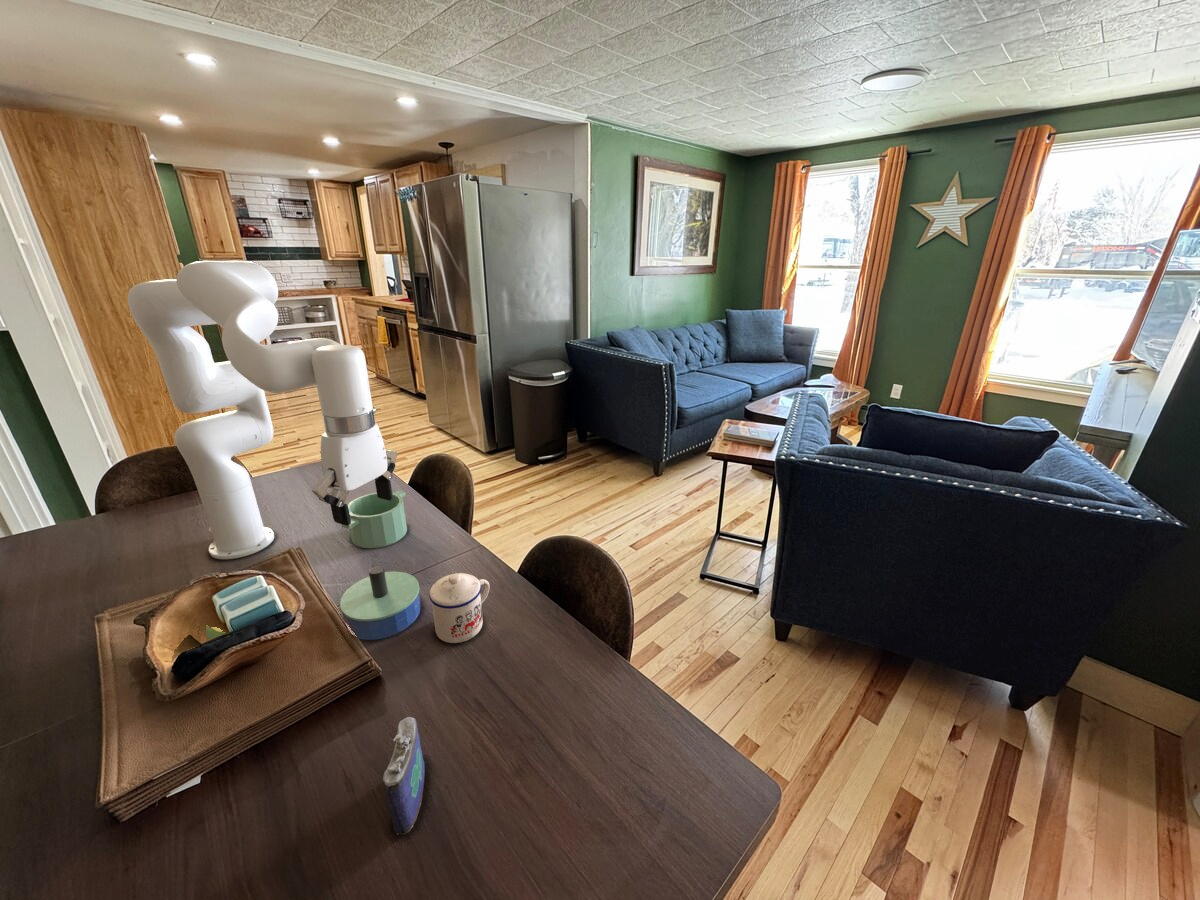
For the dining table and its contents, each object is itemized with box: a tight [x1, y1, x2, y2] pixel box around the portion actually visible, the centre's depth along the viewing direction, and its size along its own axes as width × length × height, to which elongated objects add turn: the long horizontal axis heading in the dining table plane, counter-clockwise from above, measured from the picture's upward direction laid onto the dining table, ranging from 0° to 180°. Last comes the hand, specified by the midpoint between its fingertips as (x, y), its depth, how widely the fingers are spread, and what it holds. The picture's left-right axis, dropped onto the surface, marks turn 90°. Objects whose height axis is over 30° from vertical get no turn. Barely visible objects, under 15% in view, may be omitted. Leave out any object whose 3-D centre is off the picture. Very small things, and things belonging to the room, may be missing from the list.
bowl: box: [342, 592, 422, 641], centre depth 91 cm, size 13×13×4 cm
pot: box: [341, 490, 408, 549], centre depth 116 cm, size 13×18×8 cm
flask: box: [382, 716, 426, 836], centre depth 59 cm, size 9×3×11 cm, turn 8°
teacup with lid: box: [428, 572, 491, 644], centre depth 88 cm, size 12×9×12 cm
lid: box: [339, 565, 420, 621], centre depth 89 cm, size 14×14×7 cm
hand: (365, 510), depth 85 cm, fingers open, 9 cm apart
